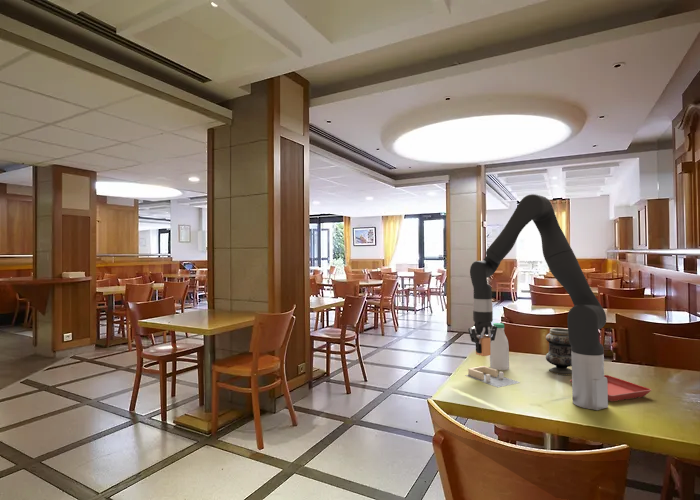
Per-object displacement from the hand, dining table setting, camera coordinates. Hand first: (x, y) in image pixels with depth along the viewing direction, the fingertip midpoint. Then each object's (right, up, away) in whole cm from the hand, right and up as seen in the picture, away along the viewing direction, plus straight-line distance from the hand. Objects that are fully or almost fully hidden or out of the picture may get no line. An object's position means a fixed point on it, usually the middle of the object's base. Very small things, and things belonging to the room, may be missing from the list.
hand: (483, 352), depth 160 cm
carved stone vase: (+36, -11, +7) cm, 38 cm away
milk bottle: (+11, -11, +12) cm, 19 cm away
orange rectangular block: (0, -1, 0) cm, 1 cm away
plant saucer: (+39, -10, -18) cm, 44 cm away
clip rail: (+2, -11, -4) cm, 12 cm away
